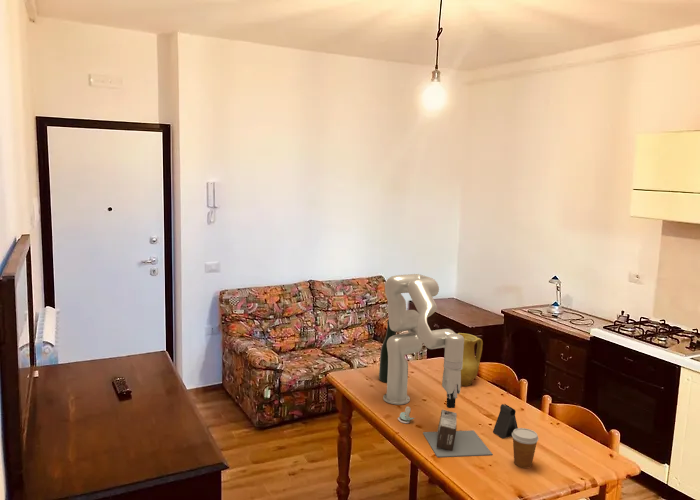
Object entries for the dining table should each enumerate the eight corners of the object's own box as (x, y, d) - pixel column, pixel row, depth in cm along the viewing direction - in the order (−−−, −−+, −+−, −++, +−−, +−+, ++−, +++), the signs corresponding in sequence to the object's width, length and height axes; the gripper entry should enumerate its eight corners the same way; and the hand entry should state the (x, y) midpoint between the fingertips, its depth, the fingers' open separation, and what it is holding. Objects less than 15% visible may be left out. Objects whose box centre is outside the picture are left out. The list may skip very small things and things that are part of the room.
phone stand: (509, 429, 236) (511, 402, 234) (519, 435, 230) (521, 407, 229) (492, 432, 232) (494, 405, 231) (501, 438, 227) (504, 410, 225)
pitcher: (442, 373, 299) (447, 329, 295) (477, 378, 297) (483, 333, 293) (443, 386, 283) (448, 339, 278) (480, 391, 280) (486, 344, 276)
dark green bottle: (377, 376, 293) (380, 315, 289) (396, 376, 294) (399, 315, 290) (380, 383, 283) (383, 320, 279) (400, 383, 284) (403, 320, 280)
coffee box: (452, 432, 229) (452, 452, 214) (437, 429, 230) (435, 447, 215) (457, 412, 228) (457, 430, 212) (441, 408, 229) (440, 426, 213)
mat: (422, 433, 229) (422, 432, 229) (473, 431, 232) (473, 430, 232) (437, 457, 209) (437, 456, 209) (492, 455, 213) (492, 453, 213)
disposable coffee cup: (506, 456, 212) (509, 426, 210) (531, 457, 212) (534, 428, 210) (513, 469, 203) (515, 438, 201) (539, 470, 202) (542, 439, 201)
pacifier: (404, 425, 236) (415, 422, 239) (404, 411, 235) (416, 408, 238) (394, 419, 242) (405, 416, 245) (395, 405, 241) (406, 402, 244)
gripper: (438, 358, 233) (436, 400, 235) (450, 370, 218) (447, 415, 221) (455, 358, 234) (453, 399, 236) (468, 370, 219) (465, 414, 222)
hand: (450, 407), depth 229 cm, fingers closed
